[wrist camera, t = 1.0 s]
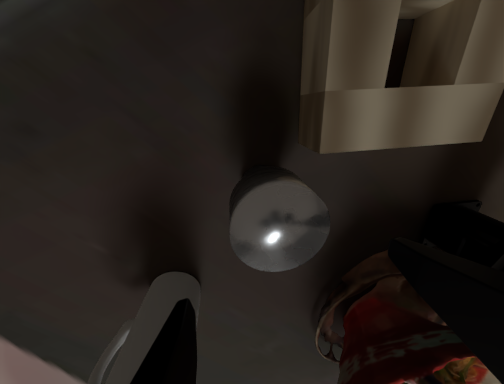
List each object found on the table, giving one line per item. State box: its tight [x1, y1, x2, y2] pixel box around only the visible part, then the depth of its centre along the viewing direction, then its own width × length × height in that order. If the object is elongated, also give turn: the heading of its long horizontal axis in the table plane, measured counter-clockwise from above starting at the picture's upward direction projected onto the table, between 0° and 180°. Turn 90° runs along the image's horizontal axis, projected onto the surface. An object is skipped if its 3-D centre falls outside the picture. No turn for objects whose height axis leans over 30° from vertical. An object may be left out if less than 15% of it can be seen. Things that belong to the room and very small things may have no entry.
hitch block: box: [298, 0, 504, 154], centre depth 15 cm, size 14×14×5 cm
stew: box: [315, 249, 501, 384], centre depth 25 cm, size 28×24×16 cm
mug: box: [87, 272, 201, 384], centre depth 20 cm, size 10×7×12 cm, turn 106°
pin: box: [229, 165, 330, 272], centre depth 17 cm, size 7×7×9 cm
